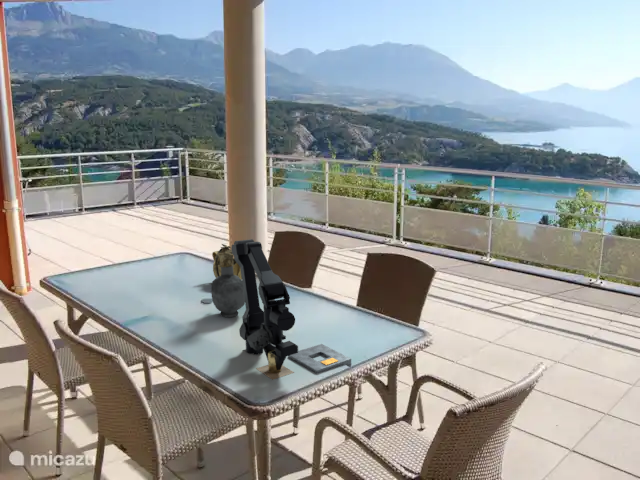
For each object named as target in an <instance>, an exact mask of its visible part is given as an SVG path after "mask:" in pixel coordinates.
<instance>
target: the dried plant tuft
mask: <svg viewBox="0 0 640 480" xmlns="http://www.w3.org/2000/svg"><path fill="white" fill-rule="evenodd" d="M218 251H219V250H216V251H215V250H214V251H212V253H211V255H212V258H213V263H212V269H213V270H212V272H213V275H214V277H215V279H216V278H217V277H218V275H217V271H216V268H215V256H216V255H217V254H218ZM218 267H219V268H218V269H219V275H220V276H221V267H220V258H218ZM233 274H234V275H236V276H238V277H239V278H240V279H241V280H242V276H241V269H240V266H239V265H238V263H237V262H236V261H235V260H234V257H233Z"/></svg>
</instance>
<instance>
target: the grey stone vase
mask: <svg viewBox="0 0 640 480" xmlns="http://www.w3.org/2000/svg"><path fill="white" fill-rule="evenodd" d="M217 251H218V254H217V255H216V256H215V268H216V271H217V275H218V277H217V278H216V277H215V278H214V279H213V281H212V282H211V285H210V287H211V288H210V289H211V291H210V293H211V299H212V303H213V306H214V307H215V308H216V310H218V311H219V312H220V316H221V317H223V318H234V317H236V316H238V315H239V312H238V310H241V308H242V307H244V305H245V298H244V290H243V283H242V280H241V279H240V278H239V277H238V276H236V275H234V274H233V258H234V255H233V254H232V250H231V246H229V245H226V244H224V243H221V246H220V249H219V250H217ZM218 258H220V267H221V276H220V275H219V269H218V268H219V267H218Z"/></svg>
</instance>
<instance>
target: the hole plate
mask: <svg viewBox="0 0 640 480" xmlns="http://www.w3.org/2000/svg"><path fill="white" fill-rule="evenodd" d="M318 356H323V357H324V359H321V360H318V361H317V360H316V359H314V358H316V357H318ZM287 357H288V359H290V360H293V361H294V362H296V363H297V364H299V365H301V366H303V367H305V368H307V369H308V370H310V371H311V372H313V373H315V374H316V375H317V374H319V373H323V372H325V371H329V370H331V369H335V368H337V367H340V366H342V365H345V366H347V367H348V366H351V365H352V358H350V357H349V356H346V355H345V354H342V353H341V352H339V351H336V350H335V349H333V348H331V347H328V346H326V345H325V344H322V343H321V344H317V345H314V346H309V347H307V348H304V349H300V350H298V353H296V354H292V355H289V356H287Z"/></svg>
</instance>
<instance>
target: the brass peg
mask: <svg viewBox="0 0 640 480" xmlns="http://www.w3.org/2000/svg"><path fill="white" fill-rule="evenodd" d="M272 351H275V350H271V351H269V352H268V360H267V363H268V364H267V365H268V369H269V372H270V373H279V372H281V369H280V370H277V368H276V362H275V356H274V355H273V354H272V353H271V352H272Z"/></svg>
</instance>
